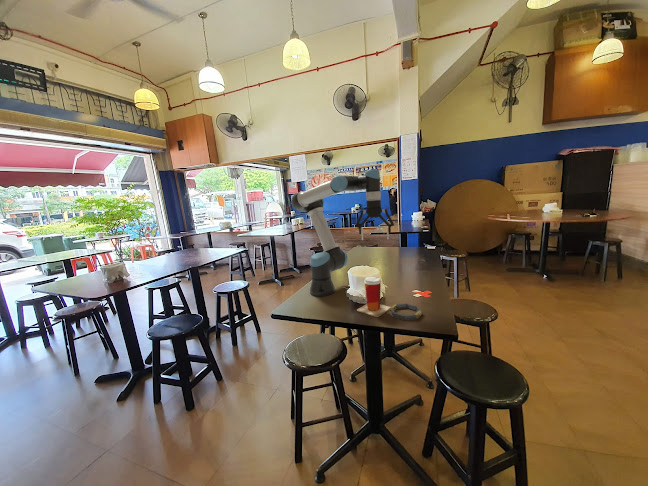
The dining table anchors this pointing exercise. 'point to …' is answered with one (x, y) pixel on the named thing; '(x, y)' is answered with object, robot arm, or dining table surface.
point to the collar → (405, 317)
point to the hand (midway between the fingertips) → (375, 239)
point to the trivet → (374, 313)
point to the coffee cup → (373, 292)
